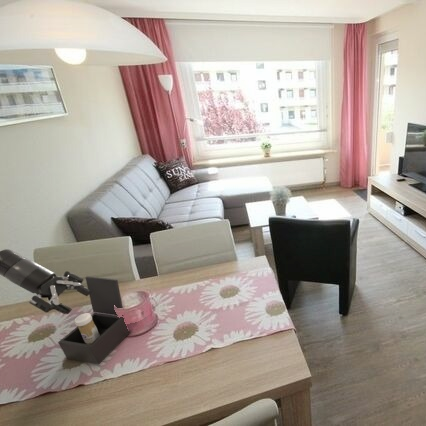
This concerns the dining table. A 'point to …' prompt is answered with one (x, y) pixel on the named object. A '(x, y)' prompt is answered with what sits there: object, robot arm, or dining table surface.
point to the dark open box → (109, 338)
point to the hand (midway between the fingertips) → (80, 302)
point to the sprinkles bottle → (87, 328)
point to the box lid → (104, 294)
